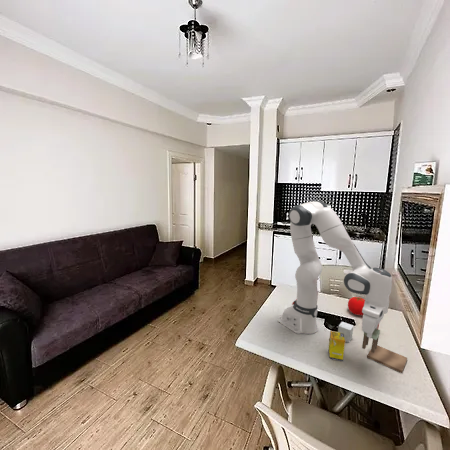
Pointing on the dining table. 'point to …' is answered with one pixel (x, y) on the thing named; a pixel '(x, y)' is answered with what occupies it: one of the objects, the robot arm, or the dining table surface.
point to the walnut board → (388, 358)
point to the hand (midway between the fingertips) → (371, 333)
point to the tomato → (356, 305)
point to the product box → (346, 330)
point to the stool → (374, 342)
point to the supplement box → (336, 346)
